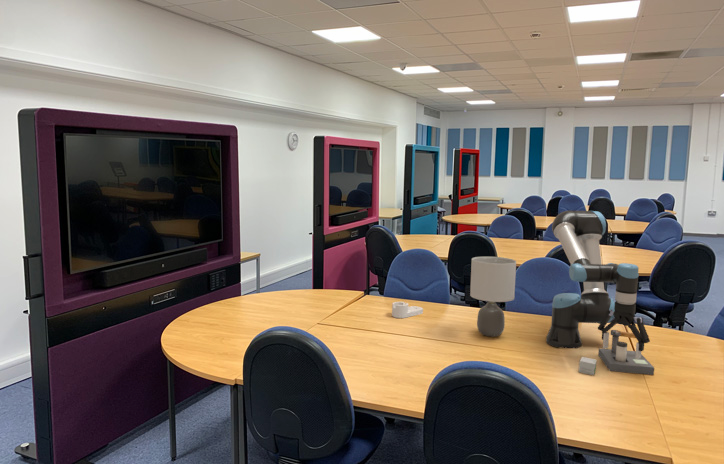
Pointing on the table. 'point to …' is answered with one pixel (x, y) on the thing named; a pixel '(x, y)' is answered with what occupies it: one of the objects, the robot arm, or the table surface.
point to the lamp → (492, 290)
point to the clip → (622, 334)
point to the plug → (621, 351)
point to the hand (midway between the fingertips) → (621, 353)
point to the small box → (587, 366)
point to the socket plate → (631, 363)
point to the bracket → (405, 310)
